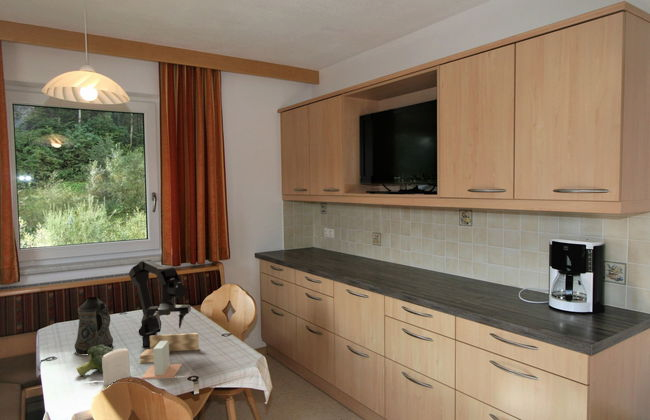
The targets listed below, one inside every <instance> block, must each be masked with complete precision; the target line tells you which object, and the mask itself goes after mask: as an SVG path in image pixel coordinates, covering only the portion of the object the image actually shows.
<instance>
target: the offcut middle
mask: <svg viewBox="0 0 650 420" xmlns="http://www.w3.org/2000/svg"><path fill="white" fill-rule="evenodd" d="M139 362H140V363H139V364H147V363H146V362H152V363H154V358H151V359H140V358H139Z"/></svg>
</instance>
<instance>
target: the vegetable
mask: <svg viewBox="0 0 650 420" xmlns="http://www.w3.org/2000/svg"><path fill="white" fill-rule="evenodd" d="M111 351H113V348H112V347H111V348H110V347H108V346H104V345H102V344H101V345H98V346H93V347H91V348H90V349H88V351H87V353H88V355H87V356H90V357H89V359H88V361H87V362H86V363H85V362H84V363H83V364H81V365H80V366H77V367H76V371H77V374H78V375H79V376H80V377H82V376H81V375H83V376H86V374H88V372H90V371H92V370H98V373H100V374H102V375H103V367H102V357H103V356H104V355H105V354H107V353H109V352H111Z"/></svg>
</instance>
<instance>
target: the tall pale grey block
mask: <svg viewBox="0 0 650 420" xmlns="http://www.w3.org/2000/svg"><path fill="white" fill-rule="evenodd" d="M153 352H154V362H153V365H154V373H155V375H164V373H165V372H166V370H167V369H168V368H169V366H170V365H171V364H170V362H171V361H170V353H169V341H160V342H159V343H158V344H157V345H156V346H155V347H154V349H153Z"/></svg>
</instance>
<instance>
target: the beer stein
mask: <svg viewBox="0 0 650 420" xmlns="http://www.w3.org/2000/svg"><path fill="white" fill-rule="evenodd" d="M77 313H78V314H79V319H78V328H77V336H76V341H75V343H74V347H73V348H75V352H77V353H79V354H88V353H87V351H88V349H90V348H91V347H93V346H98V345H101V344H102V345H104V346H108V347H110V348H111V349H112V347H113V343H114V339H113V337H112V333H111V330H110V328H109V327H110V324H111V315H110V312H109V310H107V304H106V303H105V302H103V301H101V300H100V299H99V298H98V296H92V297H88V298H87V299H85V301H84V303H82V304H81V305H80V306H79V307H78V308H77ZM77 353H76V354H77ZM79 354H78V355H79Z"/></svg>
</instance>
